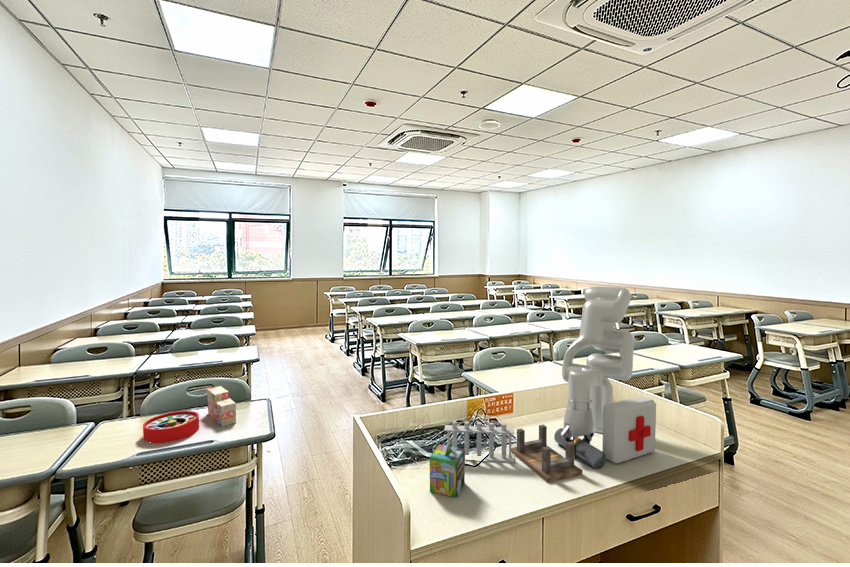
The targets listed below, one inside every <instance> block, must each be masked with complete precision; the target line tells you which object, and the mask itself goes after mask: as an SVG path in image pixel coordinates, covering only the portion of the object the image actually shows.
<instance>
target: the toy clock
mask: <svg viewBox="0 0 850 567" xmlns="http://www.w3.org/2000/svg"><path fill="white" fill-rule="evenodd" d="M199 430H200V414H199V413H198V412H196V411H194V410H178V411H172V412H168V413H163V414H159V415H157V416H154V417H151V418H149V419H148V420H145V422H144V423H143V424H142V433H143V435H142V436H143V441H144V440H145V441H147V442H151V443H150V444H153V443H159V444H166V443H165V442H168V443H171V442H170V441H173V442H177V441H180V439H181V440H183V439H187V438H188V437H190V436H193V435H195V433H197V432H198V431H199ZM145 441H144V442H145ZM147 442H146V443H147Z"/></svg>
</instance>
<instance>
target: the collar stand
mask: <svg viewBox="0 0 850 567" xmlns="http://www.w3.org/2000/svg"><path fill="white" fill-rule="evenodd" d="M547 430H548V428H547V426H546V425H545V424H539V425H538V439H535V440H530V441H525V439H526V438H525V436H526V434H525V431H526V430H525V429H523V428H517V429H516V446H513V447H512V446H511V452H512V453H511V455H513V454H514V457H516V458H517V459H518V460H519V461H520V462H522V464H524V465H525V466H526V467H528V469H530V470H531V471H533V473H535V474H536V475H537V476H538V477H540V478H541V479H542V480H543V481H544V482H545V483H547V484H548V483H551V482H555V481H560V480H565V479H570V478H573V477H578V476H581V475H583V469H582V468H580V467H579V466H577V465H576V464H575V455H574V443H572V442H566V448H565V454H564V455H565V456H563V455H562V454H560V453H559V452H557V451H556V450H555V449H553V448H552V447H550V446H549V445H547V442H548V440H547V436H548V434H547V433H548V432H547Z"/></svg>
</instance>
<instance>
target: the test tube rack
mask: <svg viewBox="0 0 850 567" xmlns="http://www.w3.org/2000/svg"><path fill="white" fill-rule="evenodd" d="M463 424H464V425H458V422H457V421H456V420H453V421H452V422H451V424H445V425H444V430H443V431H444V432H447V435H446V436H447V446H448V445H449V444H450V442H451V441H452V440H453V441H452V445H451V447H456V448H458V432H461V433H462V432H463V433H464V438H463V439H464V441H463V442H464V449H465V455H469V453H470V433H476V453H477V456H481V454H483V453H482V451H483V450H482V446H483V445H482V442H483V441H482V433H483V434H484V433H485V434H488V454H489V456H488V457H487V458H486V459H485V460H487V461H492V462H491V463H504V462H507V464H508V463H509V464H515V463H516V460H515V455H513V454H512V453H511V448H512V435H515V434H516V433H515V428H514V427H508V426H507V423H505V422H502V423H501V426H495V423H494V422H489V423H488V426H482V425H483V424H482V422H481V421H477V422H476V426H475V425H470V422H469V421H464V423H463ZM450 433H451V434H452V435H451V434H450ZM495 434H501V454H500V453H498V454H497V453H495ZM507 435H508V454H507ZM450 436H451V437H450ZM451 438H452V439H451ZM450 439H451V440H450Z"/></svg>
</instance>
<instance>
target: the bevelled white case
mask: <svg viewBox="0 0 850 567" xmlns="http://www.w3.org/2000/svg"><path fill="white" fill-rule="evenodd" d="M656 422H657V403H656V402H655V400H654V399H652V398H650V397H646V396H644V395H641V396H636V397H632V398H628V399H624V400H619V401H616V402H614V401H613V403H610V404H606V405H605V406H603V433H602V449H601V451H602V452H604V453H605V455H606V461H609V462H611V463H612V464H614V465H617V463H618V464H620V462H621V463H624V462H626V461H630V460H632V458H633V459H635V457H636V458H638V456H639V457H642V456H645V455H647V453H648V454H650V452H651V453H653V452H655V451H656V432H657V431H656V430H657V429H656V428H657V427H656V425H657V424H656ZM644 454H645V455H644ZM641 455H642V456H641ZM623 461H624V462H623Z"/></svg>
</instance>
